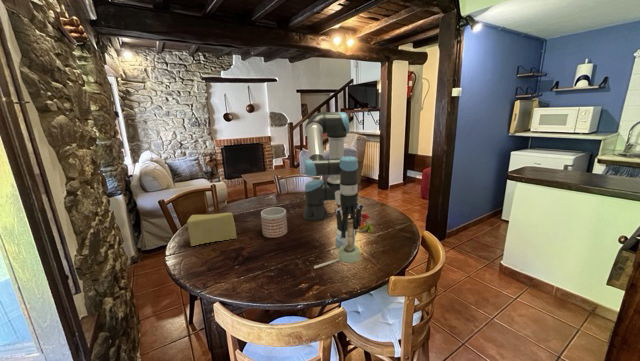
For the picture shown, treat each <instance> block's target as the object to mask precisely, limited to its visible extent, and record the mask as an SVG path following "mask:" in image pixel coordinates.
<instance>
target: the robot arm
mask: <svg viewBox="0 0 640 361" xmlns="http://www.w3.org/2000/svg"><path fill="white" fill-rule="evenodd" d="M350 128H351V127H350V119H349V116H348V114H347V112H343V111H332V112H331V111H330V112H319V113H315V114H313V115H312V116H310V118H308V120H307V121H306V123H305V127H304V132H305V135H306V136H307V137H306V138H307V152H308V159H305V161H304V172H305V173H304V174H305V176H306V177H321V176H329V177H328V178H327V179H326V181H324V180H323V179H320V178H319V179H312V180H309V181H307V182H306V183H304V184H305V185H304V192H305V194H304V195H305V208H304V210H303V211H304V212H303V218H304V219H305V220H307V221H311V222H313V221H314V222H315V221H316V222H317V221H318V222H319V221H322V220H325V219H326V218H328V210H327V209H326V206H325V202H326V201H335V192H336V191H338V190H340V193H341V194H340V202H341V205H340V208H336V209H334V213H335V216H336V227H337V228H336V230H339V231H341V236H342V238H343V243H344V244H345V245H348V231H346V227H347V220H348V218H352V219H353V243H355V244H356V236H357V231H358V226H359V227H360V225H361V218H362V217H361V214H362V210H363V205H362V204H360V203H358V201H359V197H358V187H359V186H358V185H359V184H358V182H359V180H358V177H359V176H358V174H359V172H358V171H359V163H358V158H357V157H356V156H344V154H345V153H344V152H345V151H344V150H345V139H346V138H347V137H348V136H347V134H348V133H351V132H350ZM322 134H323V135H324V134H325V135H326V138H327V139H328V144H329V145H328V147H329V148H328V151H329V152H328V157H329V158H326V157H325V153H324V152H325V151H324V145H323V144H324V143H323V135H322Z"/></svg>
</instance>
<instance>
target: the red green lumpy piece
mask: <svg viewBox="0 0 640 361" xmlns="http://www.w3.org/2000/svg"><path fill="white" fill-rule="evenodd" d="M368 219H370V215H369V214H368V213H361V225H360V227H359V226H358V229H357V231H358V233H361V232H365V231H367V232H368V233H370V232H373V229H372V225H373V224H372V223H369V221H368Z"/></svg>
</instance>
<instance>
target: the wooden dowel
mask: <svg viewBox="0 0 640 361" xmlns="http://www.w3.org/2000/svg"><path fill="white" fill-rule="evenodd" d="M346 231H348V245H345V252H353V219H352V218H351V217H348V220H347V227H346Z"/></svg>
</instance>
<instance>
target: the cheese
mask: <svg viewBox="0 0 640 361" xmlns="http://www.w3.org/2000/svg"><path fill="white" fill-rule="evenodd" d="M186 224H187V231H188V236H189V237H188V238H189V243H190V247H191V246H195V245H199V244H204V243H209V242H215V241H223V240H229V239H235V238H236V239H237V238H238V237H237V229H236V223H235V220H234V215H233V213H232V212H222V213H221V212H220V213H214V214H212V213H211V214H192V215H190V217H189V218H188V219H187V221H186ZM236 239H235V240H236ZM229 241H230V240H229ZM223 242H224V241H223Z"/></svg>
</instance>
